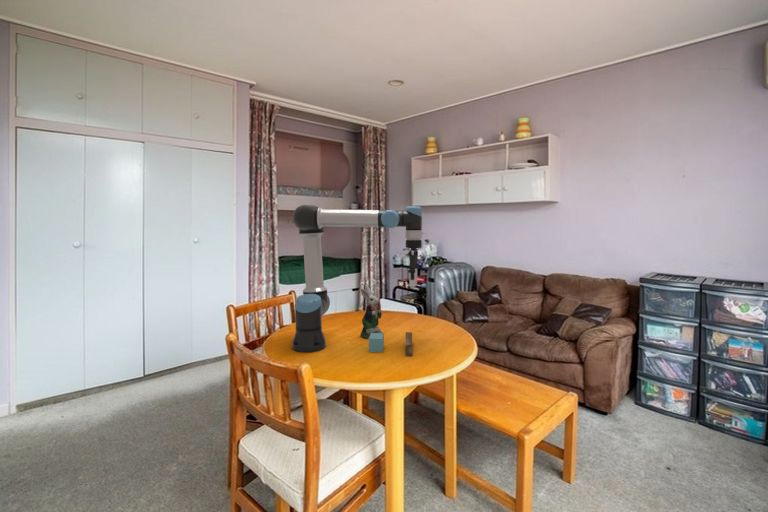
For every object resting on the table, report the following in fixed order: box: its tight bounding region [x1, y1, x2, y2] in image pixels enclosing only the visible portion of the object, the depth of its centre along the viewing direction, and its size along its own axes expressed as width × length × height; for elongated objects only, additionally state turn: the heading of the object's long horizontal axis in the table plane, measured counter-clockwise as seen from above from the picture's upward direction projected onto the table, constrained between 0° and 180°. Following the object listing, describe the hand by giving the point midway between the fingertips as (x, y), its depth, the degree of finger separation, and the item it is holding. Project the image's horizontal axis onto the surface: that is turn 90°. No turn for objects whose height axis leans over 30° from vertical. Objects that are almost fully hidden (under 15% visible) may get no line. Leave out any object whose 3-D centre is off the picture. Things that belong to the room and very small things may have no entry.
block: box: [368, 332, 385, 353], centre depth 178 cm, size 6×9×6 cm, turn 177°
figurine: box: [360, 285, 383, 340], centre depth 195 cm, size 11×13×25 cm
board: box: [404, 331, 413, 357], centre depth 177 cm, size 3×18×5 cm, turn 176°
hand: (413, 284), depth 188 cm, fingers open, 13 cm apart
